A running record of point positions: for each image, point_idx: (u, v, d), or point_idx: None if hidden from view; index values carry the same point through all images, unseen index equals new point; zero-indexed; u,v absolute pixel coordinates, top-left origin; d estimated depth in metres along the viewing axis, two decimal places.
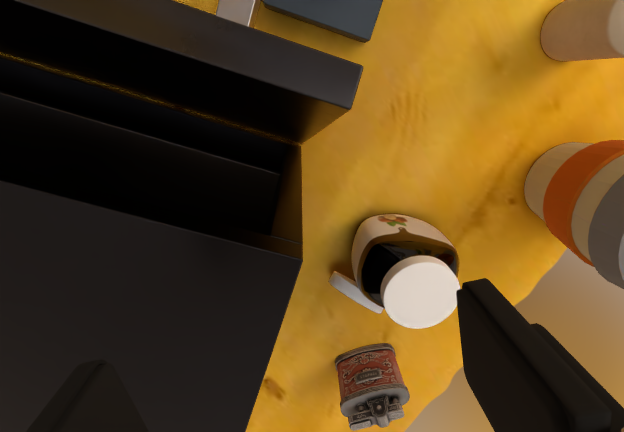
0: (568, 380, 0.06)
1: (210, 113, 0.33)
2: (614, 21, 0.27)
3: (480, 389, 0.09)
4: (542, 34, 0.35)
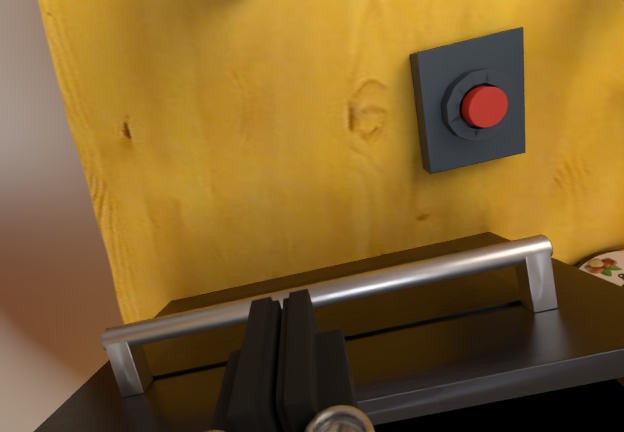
0: (300, 375, 0.07)
1: None
2: None
3: None
4: None
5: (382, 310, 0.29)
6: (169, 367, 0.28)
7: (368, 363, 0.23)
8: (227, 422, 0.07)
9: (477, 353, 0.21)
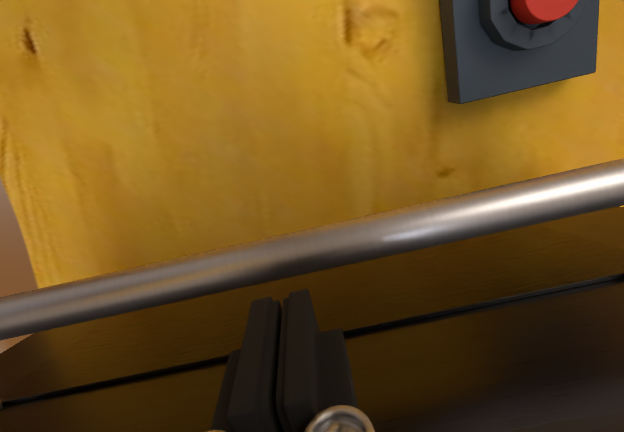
0: (300, 375, 0.07)
1: None
2: None
3: None
4: None
5: (397, 290, 0.18)
6: (38, 385, 0.16)
7: (377, 386, 0.11)
8: (227, 422, 0.07)
9: (614, 368, 0.10)
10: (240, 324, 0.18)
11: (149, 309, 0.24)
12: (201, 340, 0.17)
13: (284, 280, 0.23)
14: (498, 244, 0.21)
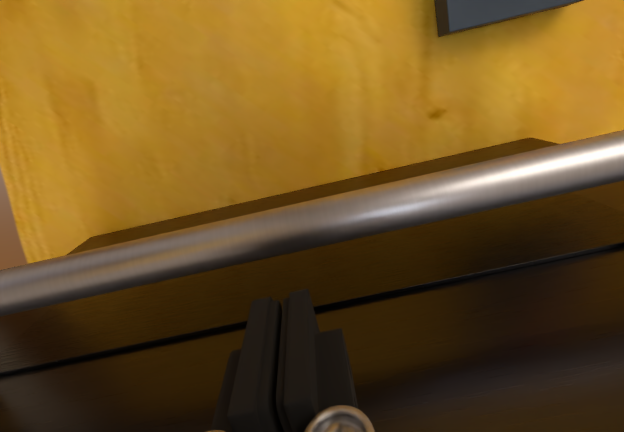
0: (300, 375, 0.07)
1: None
2: None
3: None
4: None
5: (391, 254, 0.17)
6: (25, 356, 0.16)
7: (374, 368, 0.11)
8: (227, 422, 0.07)
9: (614, 356, 0.10)
10: (230, 289, 0.17)
11: None
12: (190, 307, 0.17)
13: None
14: None
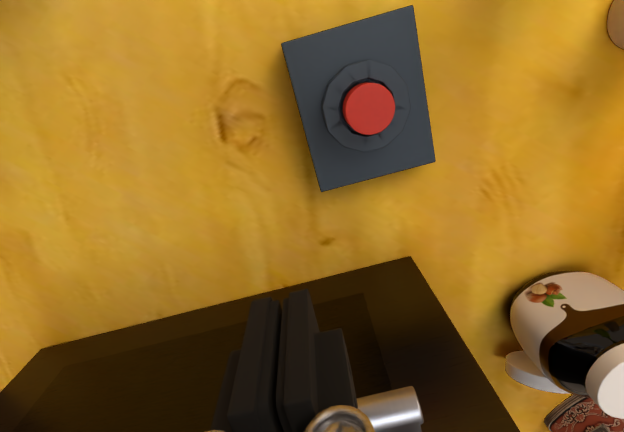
0: (300, 375, 0.07)
1: None
2: None
3: None
4: (613, 36, 0.30)
5: None
6: None
7: None
8: (227, 422, 0.07)
9: None
10: None
11: (59, 412, 0.29)
12: None
13: (168, 386, 0.28)
14: None
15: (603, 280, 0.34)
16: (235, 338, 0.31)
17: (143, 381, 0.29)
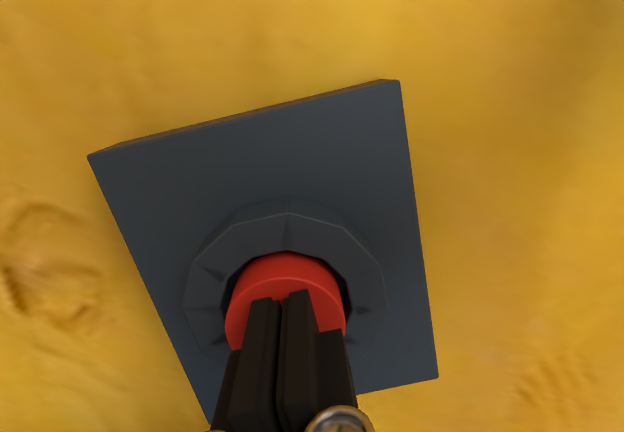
0: (300, 375, 0.07)
1: None
2: None
3: None
4: None
5: None
6: None
7: None
8: (227, 422, 0.07)
9: None
10: None
11: None
12: None
13: None
14: None
15: None
16: None
17: None
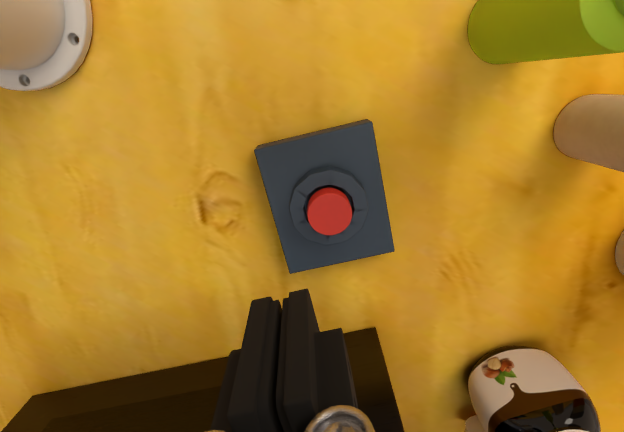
0: (300, 375, 0.07)
1: None
2: None
3: None
4: (558, 146, 0.33)
5: None
6: None
7: None
8: (227, 422, 0.07)
9: None
10: None
11: None
12: None
13: None
14: None
15: (552, 360, 0.37)
16: (206, 405, 0.34)
17: None
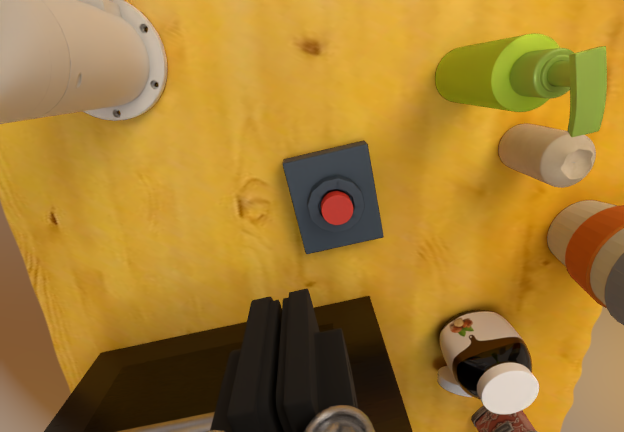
0: (300, 375, 0.07)
1: None
2: (546, 176, 0.37)
3: None
4: (502, 160, 0.45)
5: None
6: None
7: None
8: (227, 422, 0.07)
9: None
10: None
11: (127, 397, 0.43)
12: None
13: (200, 382, 0.43)
14: None
15: (501, 319, 0.49)
16: None
17: (182, 379, 0.44)
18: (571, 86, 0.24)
